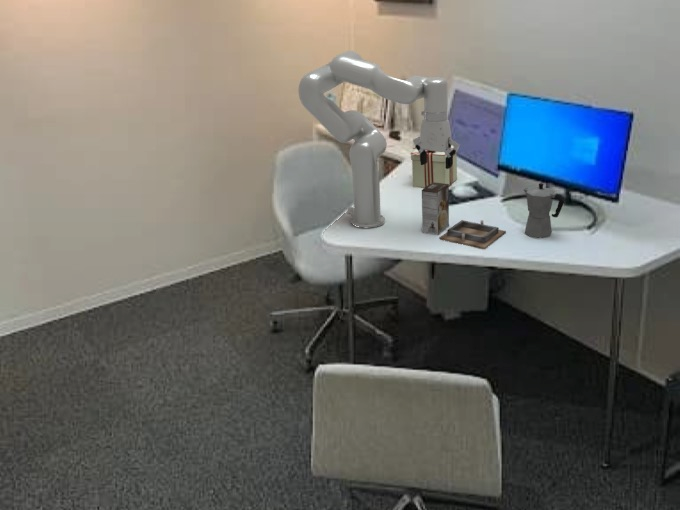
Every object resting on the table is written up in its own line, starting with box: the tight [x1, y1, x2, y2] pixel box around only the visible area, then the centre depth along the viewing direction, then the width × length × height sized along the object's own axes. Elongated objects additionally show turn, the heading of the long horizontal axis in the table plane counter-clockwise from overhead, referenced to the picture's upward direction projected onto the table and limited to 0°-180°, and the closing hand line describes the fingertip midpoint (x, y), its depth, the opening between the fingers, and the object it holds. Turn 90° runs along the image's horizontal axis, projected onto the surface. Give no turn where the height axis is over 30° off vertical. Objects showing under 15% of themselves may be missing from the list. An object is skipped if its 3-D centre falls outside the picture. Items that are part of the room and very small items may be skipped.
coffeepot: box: [523, 182, 565, 239], centre depth 243 cm, size 15×9×18 cm, turn 43°
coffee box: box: [421, 182, 450, 236], centre depth 252 cm, size 9×6×16 cm
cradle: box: [438, 219, 507, 250], centre depth 247 cm, size 17×16×3 cm
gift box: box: [410, 145, 459, 189], centre depth 297 cm, size 17×18×17 cm
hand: (436, 165), depth 245 cm, fingers open, 9 cm apart
